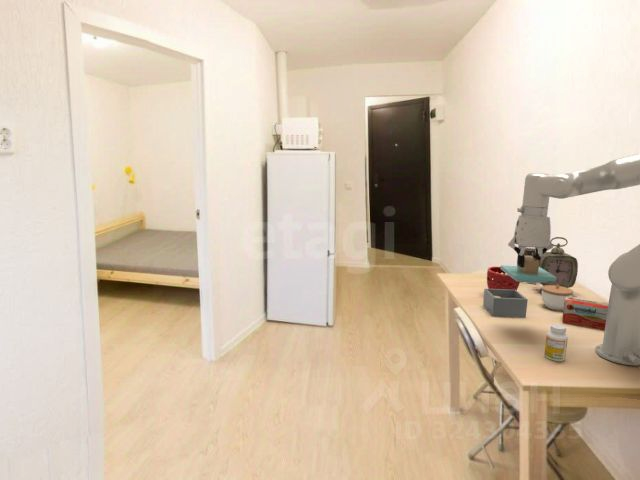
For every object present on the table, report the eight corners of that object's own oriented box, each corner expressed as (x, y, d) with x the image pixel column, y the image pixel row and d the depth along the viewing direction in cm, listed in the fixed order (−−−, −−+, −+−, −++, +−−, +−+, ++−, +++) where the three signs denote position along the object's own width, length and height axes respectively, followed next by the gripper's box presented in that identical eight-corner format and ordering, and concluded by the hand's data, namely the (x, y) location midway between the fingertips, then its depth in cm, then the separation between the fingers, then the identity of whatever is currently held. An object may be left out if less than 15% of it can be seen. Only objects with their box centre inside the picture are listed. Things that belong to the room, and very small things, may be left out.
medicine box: (610, 324, 151) (613, 303, 150) (612, 332, 145) (616, 310, 143) (562, 316, 159) (564, 296, 157) (561, 323, 152) (564, 302, 151)
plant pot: (486, 300, 176) (488, 272, 174) (484, 291, 188) (486, 265, 186) (520, 303, 172) (523, 275, 170) (516, 294, 185) (518, 267, 182)
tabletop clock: (538, 294, 185) (544, 238, 180) (531, 288, 194) (537, 234, 189) (574, 296, 182) (581, 239, 178) (566, 290, 191) (573, 236, 187)
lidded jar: (575, 313, 162) (578, 289, 160) (544, 311, 164) (547, 287, 162) (564, 304, 172) (567, 282, 171) (536, 302, 174) (539, 280, 173)
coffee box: (537, 281, 205) (540, 248, 202) (535, 284, 200) (539, 251, 197) (516, 278, 210) (520, 246, 207) (514, 281, 205) (518, 248, 202)
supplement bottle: (551, 352, 128) (555, 321, 127) (569, 359, 124) (573, 327, 122) (540, 355, 126) (543, 324, 124) (557, 363, 121) (561, 331, 119)
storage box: (525, 317, 157) (527, 299, 155) (492, 316, 158) (493, 298, 157) (514, 306, 168) (515, 289, 167) (483, 305, 170) (484, 288, 168)
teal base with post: (555, 284, 134) (558, 263, 133) (513, 282, 136) (515, 261, 134) (538, 273, 147) (541, 254, 146) (500, 272, 148) (502, 252, 147)
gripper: (511, 212, 134) (505, 268, 138) (566, 214, 133) (559, 270, 136) (503, 209, 142) (498, 263, 145) (556, 211, 140) (549, 265, 144)
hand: (527, 266), depth 141 cm, fingers closed on teal base with post, 4 cm apart
